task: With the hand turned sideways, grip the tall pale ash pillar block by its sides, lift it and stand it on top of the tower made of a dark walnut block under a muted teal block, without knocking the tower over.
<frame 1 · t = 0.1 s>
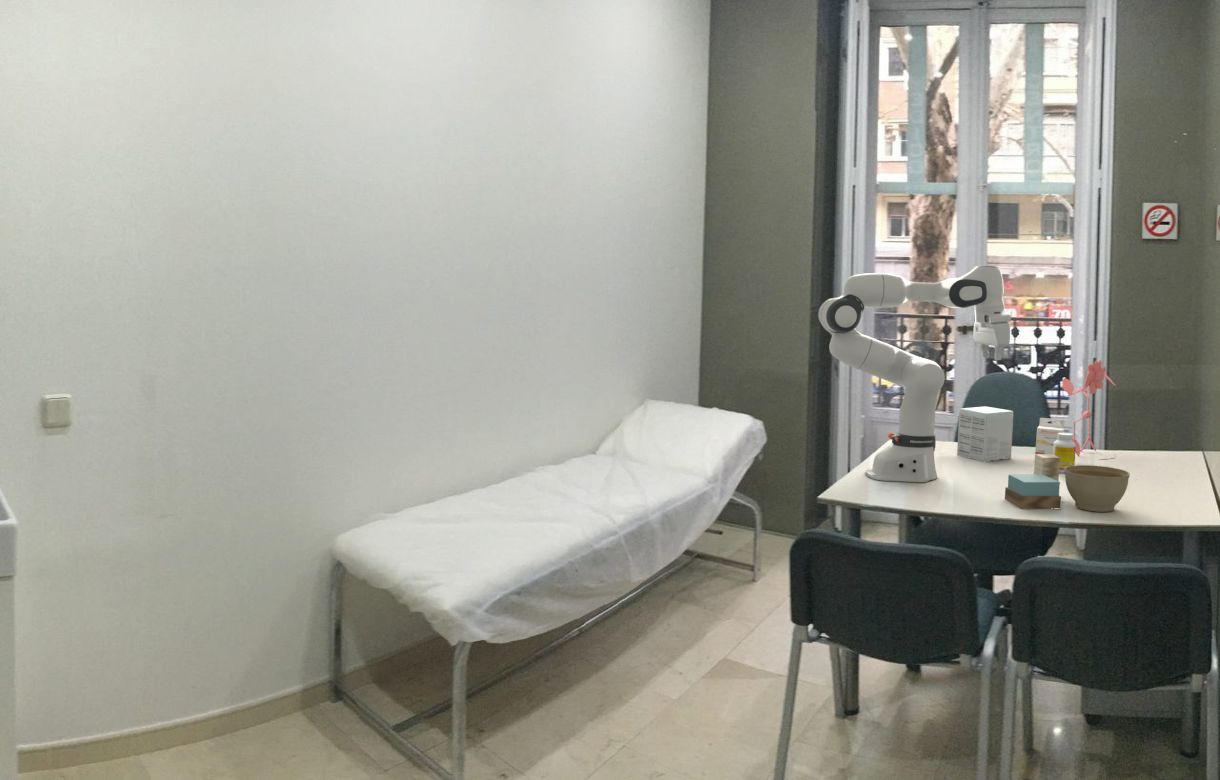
hand: (991, 358, 286), 39 cm above the table, tool pointing down, fingers open, 8 cm apart
teal top block: (1032, 491, 256), point 4 cm above the table
walnut base block: (1031, 505, 256), on the table
pink flower sculpture: (1090, 456, 325), on the table
ash pillar block: (1045, 495, 266), on the table
supplement box: (983, 457, 323), on the table
ink cartridge box: (1048, 460, 317), on the table
supplement bottle: (1062, 472, 298), on the table
planter bowl: (1093, 509, 251), on the table
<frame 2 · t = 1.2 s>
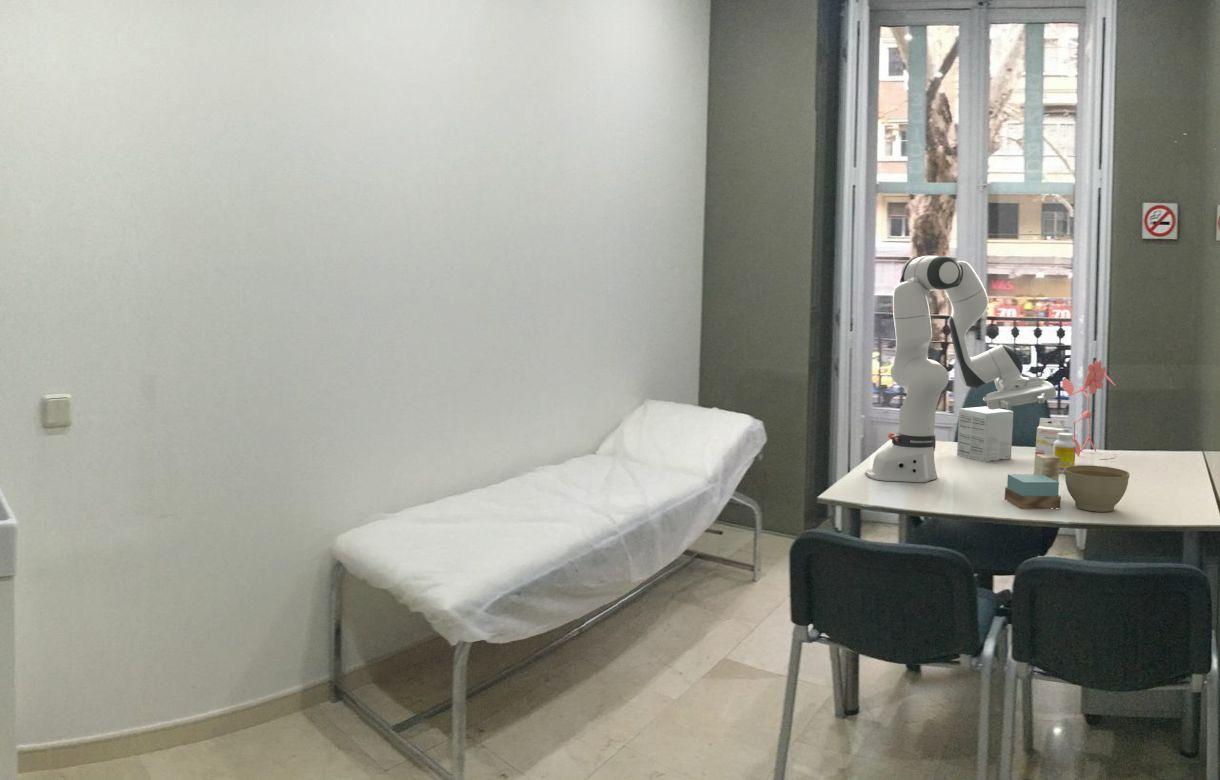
hand: (1025, 403, 274), 26 cm above the table, tool horizontal, fingers open, 8 cm apart
teal top block: (1032, 491, 256), point 4 cm above the table, touching walnut base block
walnut base block: (1031, 505, 256), on the table, touching teal top block
everything else where it was.
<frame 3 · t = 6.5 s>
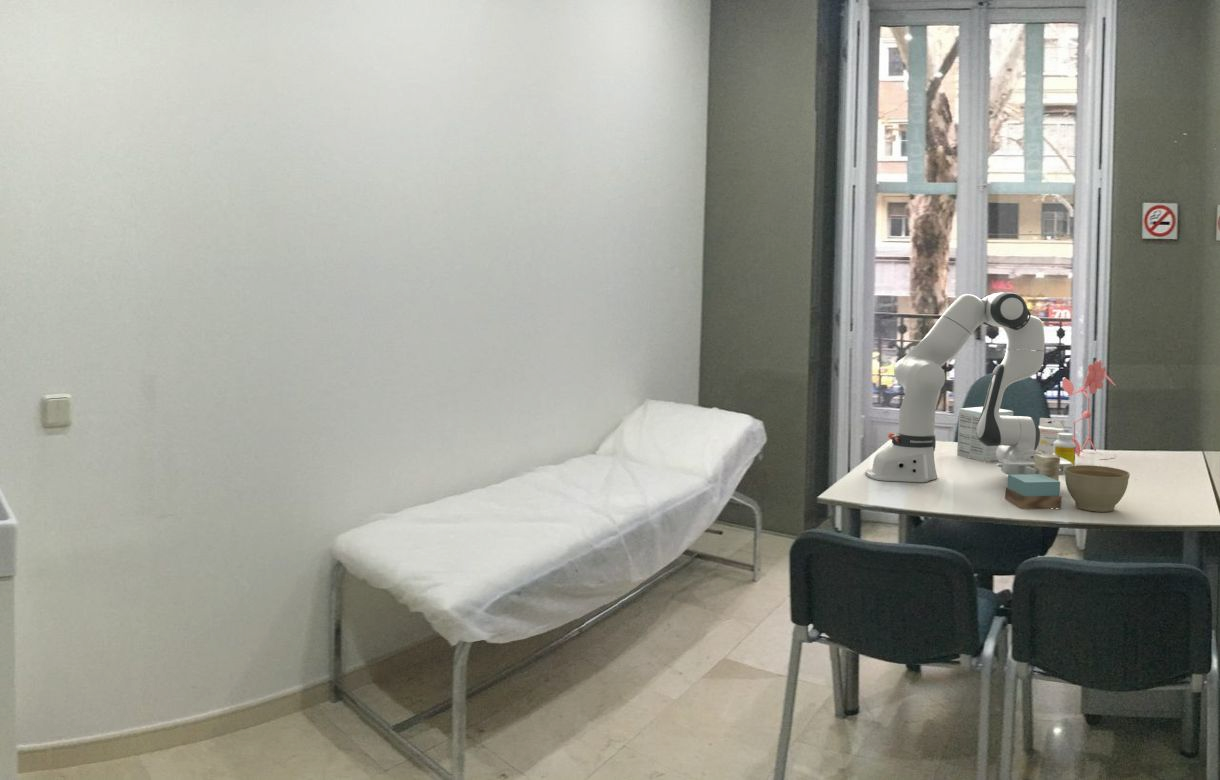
hand: (1047, 472, 264), 7 cm above the table, tool horizontal, fingers closed on ash pillar block, 5 cm apart
ash pillar block: (1045, 495, 266), on the table, touching gripper
everything else where it was.
when the fingers open (16 cm above the table, at t = 11.5 s): ash pillar block drops 2 cm, point 7 cm above the table.
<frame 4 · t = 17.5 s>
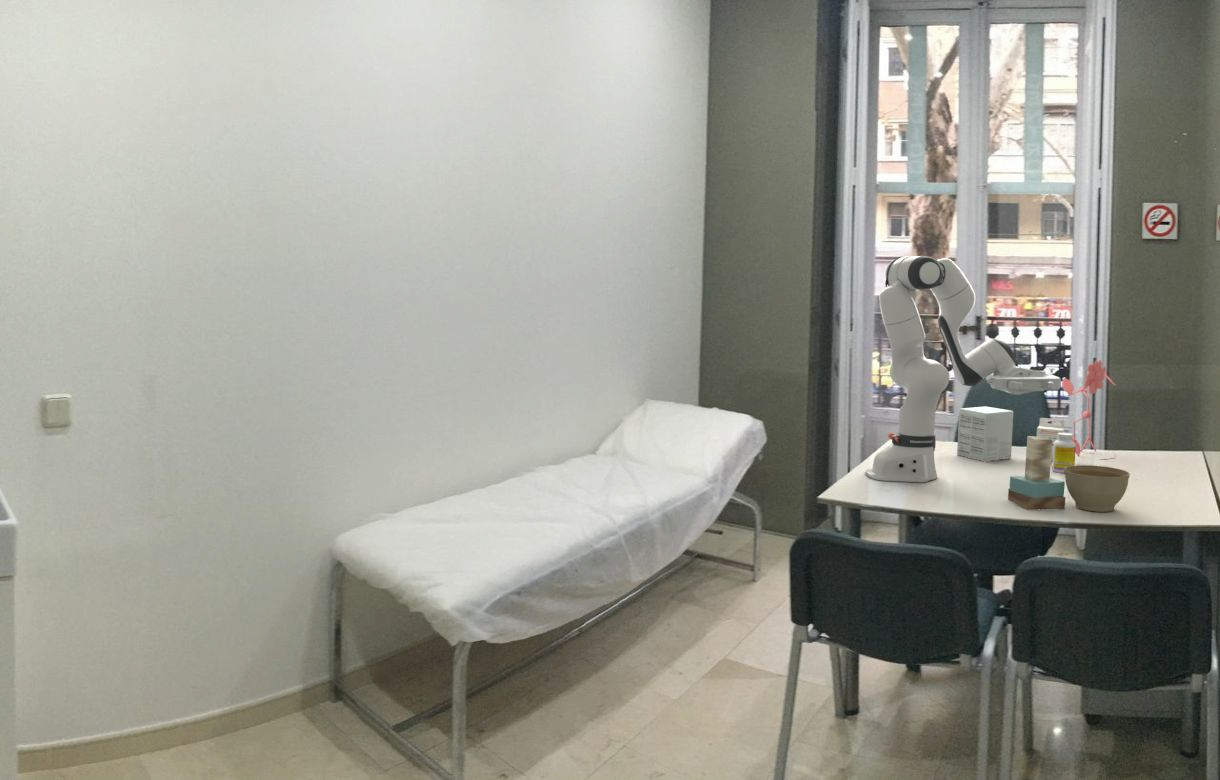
hand: (1035, 385, 270), 32 cm above the table, tool horizontal, fingers open, 8 cm apart
ash pillar block: (1036, 479, 255), point 7 cm above the table
at the end: ash pillar block 0.1 cm off-centre on the teal top block, point 4.0 cm above the teal top block's base; ash pillar block tilted 0°; teal top block 0.9 cm from the target spot, point 3.5 cm above the table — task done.
